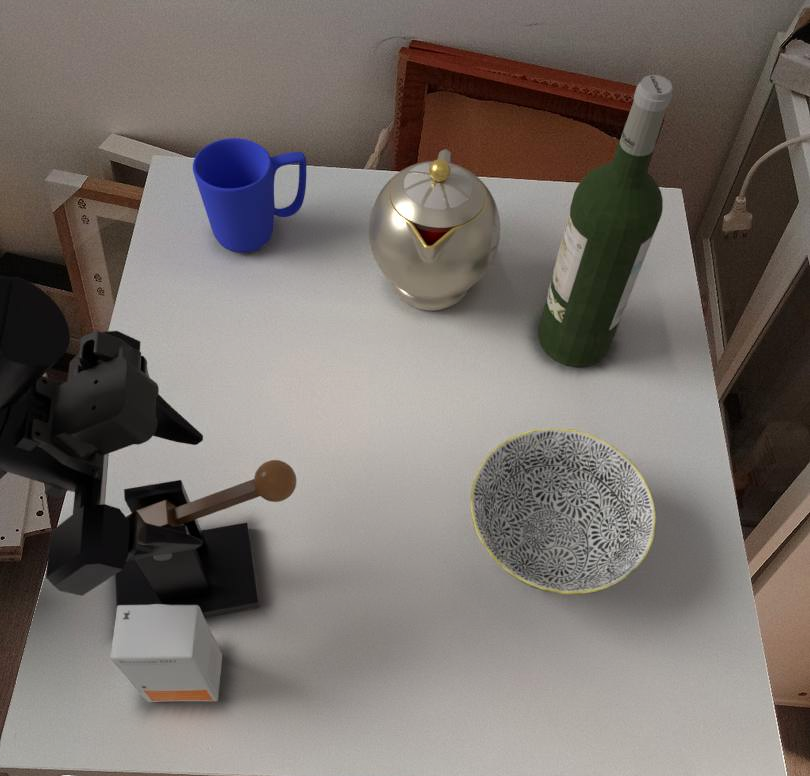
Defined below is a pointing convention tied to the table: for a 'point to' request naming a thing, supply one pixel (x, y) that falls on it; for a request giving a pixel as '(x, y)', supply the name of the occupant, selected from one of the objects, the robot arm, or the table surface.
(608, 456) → the bowl
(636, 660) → the table surface
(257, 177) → the mug
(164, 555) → the bracket
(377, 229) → the teapot
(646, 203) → the wine bottle
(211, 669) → the cosmetic box
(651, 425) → the table surface
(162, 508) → the lever
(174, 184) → the table surface
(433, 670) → the table surface
